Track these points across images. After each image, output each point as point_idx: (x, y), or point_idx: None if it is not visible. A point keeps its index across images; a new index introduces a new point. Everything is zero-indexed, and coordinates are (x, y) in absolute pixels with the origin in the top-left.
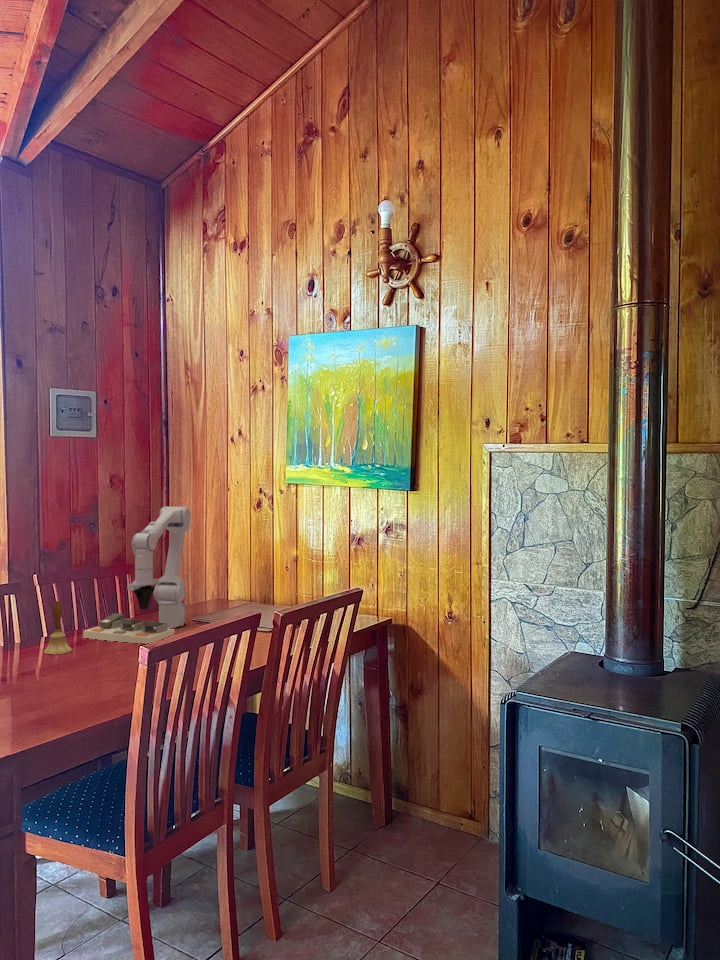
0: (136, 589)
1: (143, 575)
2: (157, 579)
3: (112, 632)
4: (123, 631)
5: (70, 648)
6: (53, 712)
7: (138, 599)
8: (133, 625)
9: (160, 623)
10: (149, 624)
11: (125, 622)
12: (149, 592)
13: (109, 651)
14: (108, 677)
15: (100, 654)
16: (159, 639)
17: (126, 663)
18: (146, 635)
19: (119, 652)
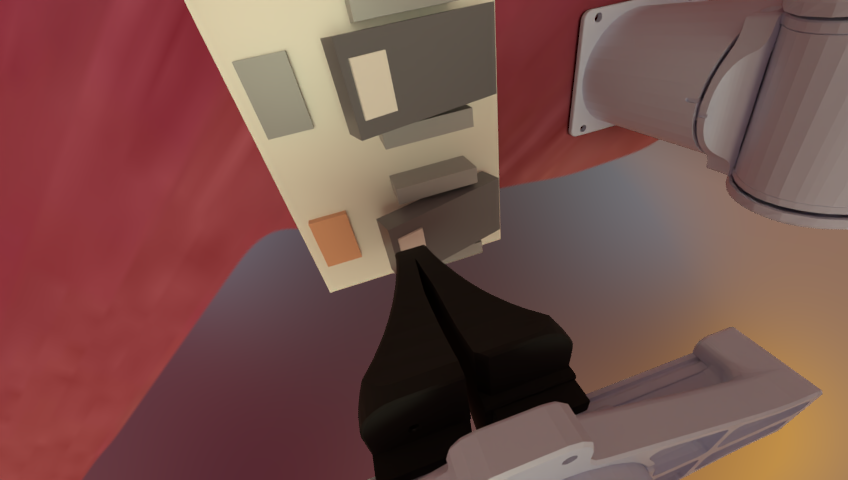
0: (370, 444)
1: None
2: (732, 449)
3: (244, 32)
4: (296, 118)
5: None
6: None
7: (396, 308)
8: None
9: (454, 250)
10: (390, 257)
11: (338, 90)
12: (471, 411)
13: (124, 241)
14: (3, 476)
15: (53, 258)
16: None
17: (126, 398)
18: (344, 258)
19: (164, 281)
